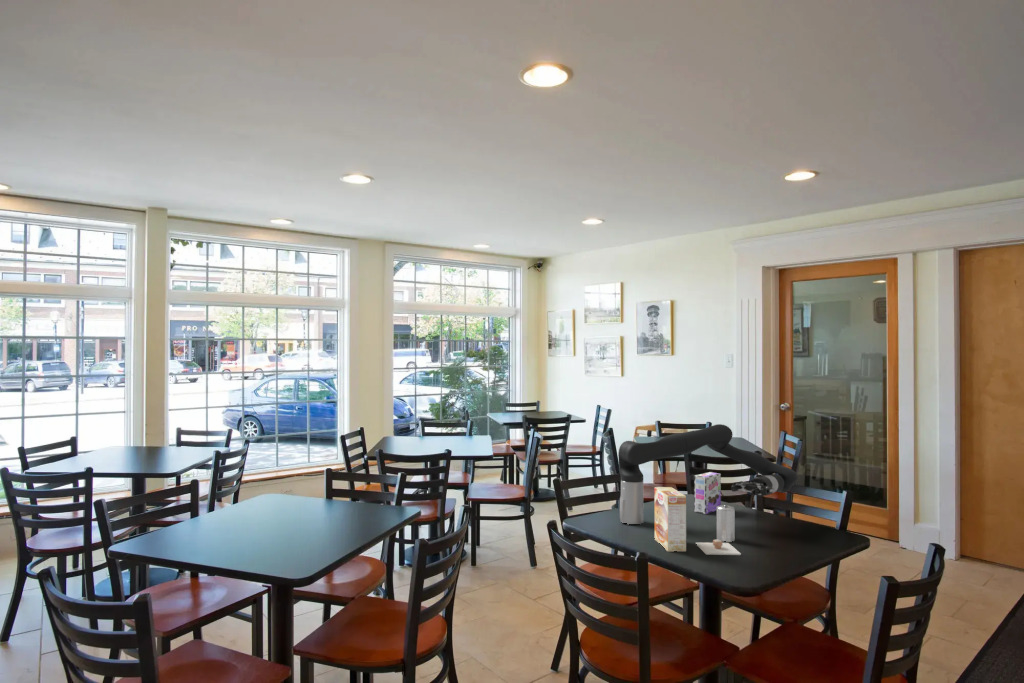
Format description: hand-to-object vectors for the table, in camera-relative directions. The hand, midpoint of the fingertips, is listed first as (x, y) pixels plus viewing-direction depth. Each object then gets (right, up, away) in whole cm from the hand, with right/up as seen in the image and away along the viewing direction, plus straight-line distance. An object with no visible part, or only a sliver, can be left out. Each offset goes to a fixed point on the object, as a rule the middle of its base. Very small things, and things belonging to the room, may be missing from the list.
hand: (742, 490), depth 228 cm
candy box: (-2, -18, +35) cm, 40 cm away
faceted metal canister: (-9, -16, -7) cm, 20 cm away
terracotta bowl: (-16, -16, -19) cm, 30 cm away
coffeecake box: (-32, -16, -15) cm, 39 cm away
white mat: (-16, -16, -19) cm, 30 cm away
